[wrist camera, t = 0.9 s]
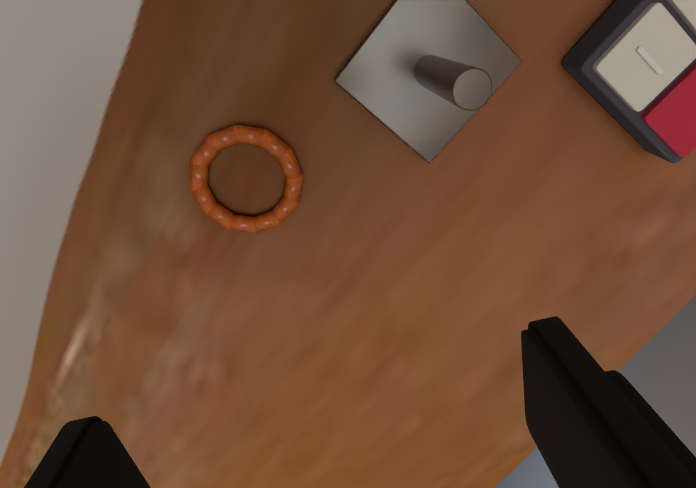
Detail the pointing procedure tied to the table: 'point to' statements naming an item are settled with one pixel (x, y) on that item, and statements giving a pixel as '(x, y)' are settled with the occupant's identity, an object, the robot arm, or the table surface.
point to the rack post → (427, 70)
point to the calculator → (644, 71)
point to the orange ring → (254, 138)
